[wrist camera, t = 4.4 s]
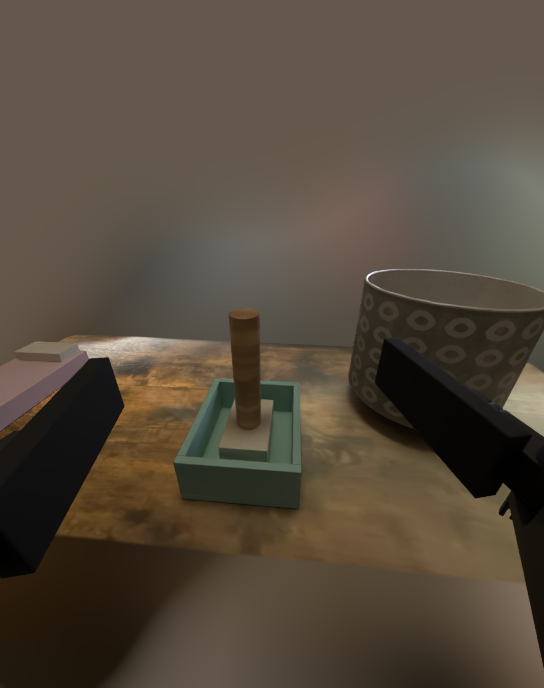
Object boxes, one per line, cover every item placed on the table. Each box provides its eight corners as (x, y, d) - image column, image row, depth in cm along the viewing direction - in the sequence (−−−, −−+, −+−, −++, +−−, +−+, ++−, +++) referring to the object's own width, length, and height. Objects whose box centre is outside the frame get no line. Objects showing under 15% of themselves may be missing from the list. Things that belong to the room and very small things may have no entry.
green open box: (298, 509, 25) (301, 472, 22) (181, 499, 26) (173, 462, 23) (297, 412, 37) (299, 382, 35) (218, 407, 38) (215, 377, 35)
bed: (-29, 452, 30) (-51, 423, 28) (-104, 446, 31) (-131, 417, 29) (91, 364, 48) (83, 342, 46) (41, 362, 49) (31, 340, 47)
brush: (267, 475, 27) (266, 332, 20) (221, 471, 28) (203, 329, 20) (273, 421, 34) (274, 300, 27) (236, 418, 35) (227, 299, 27)
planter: (525, 462, 30) (623, 314, 22) (357, 446, 32) (388, 305, 23) (445, 372, 47) (483, 270, 38) (339, 365, 48) (353, 267, 40)
